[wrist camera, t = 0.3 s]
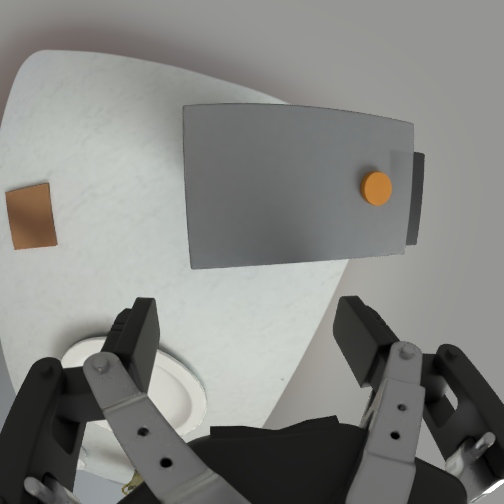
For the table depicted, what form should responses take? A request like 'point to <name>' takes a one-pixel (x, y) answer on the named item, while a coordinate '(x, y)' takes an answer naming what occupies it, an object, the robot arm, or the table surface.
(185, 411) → the plate
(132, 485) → the ceramic cup
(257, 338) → the table surface
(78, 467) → the ramekin
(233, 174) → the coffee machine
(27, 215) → the cork mat
